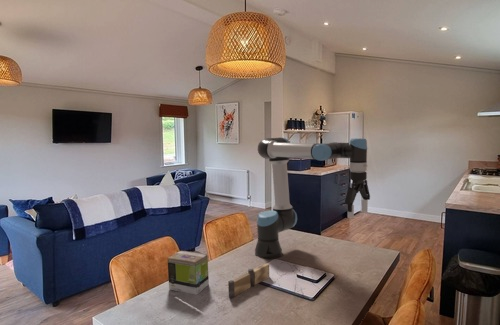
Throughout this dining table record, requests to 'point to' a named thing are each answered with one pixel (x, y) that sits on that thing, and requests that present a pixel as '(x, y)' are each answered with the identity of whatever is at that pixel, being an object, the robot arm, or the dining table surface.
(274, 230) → the robot arm
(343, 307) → the dining table surface
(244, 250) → the dining table surface
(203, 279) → the tea box
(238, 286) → the fixed fence panel
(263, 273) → the swing panel
